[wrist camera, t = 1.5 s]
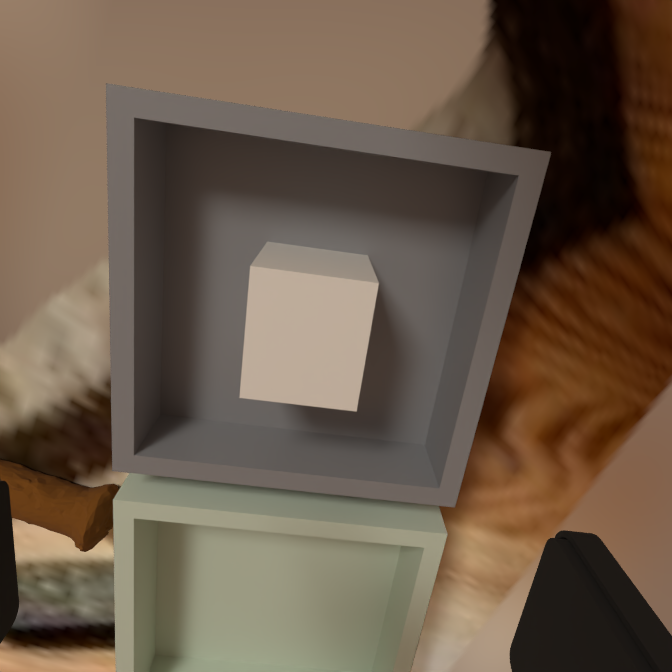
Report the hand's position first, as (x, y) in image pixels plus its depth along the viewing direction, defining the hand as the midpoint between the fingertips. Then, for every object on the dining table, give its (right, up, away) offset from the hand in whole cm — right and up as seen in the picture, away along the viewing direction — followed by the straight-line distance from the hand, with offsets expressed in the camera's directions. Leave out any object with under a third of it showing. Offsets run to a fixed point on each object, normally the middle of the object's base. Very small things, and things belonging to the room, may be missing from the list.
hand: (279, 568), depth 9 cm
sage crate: (-2, -9, +20) cm, 22 cm away
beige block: (0, +6, +14) cm, 15 cm away
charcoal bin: (0, +6, +15) cm, 16 cm away
